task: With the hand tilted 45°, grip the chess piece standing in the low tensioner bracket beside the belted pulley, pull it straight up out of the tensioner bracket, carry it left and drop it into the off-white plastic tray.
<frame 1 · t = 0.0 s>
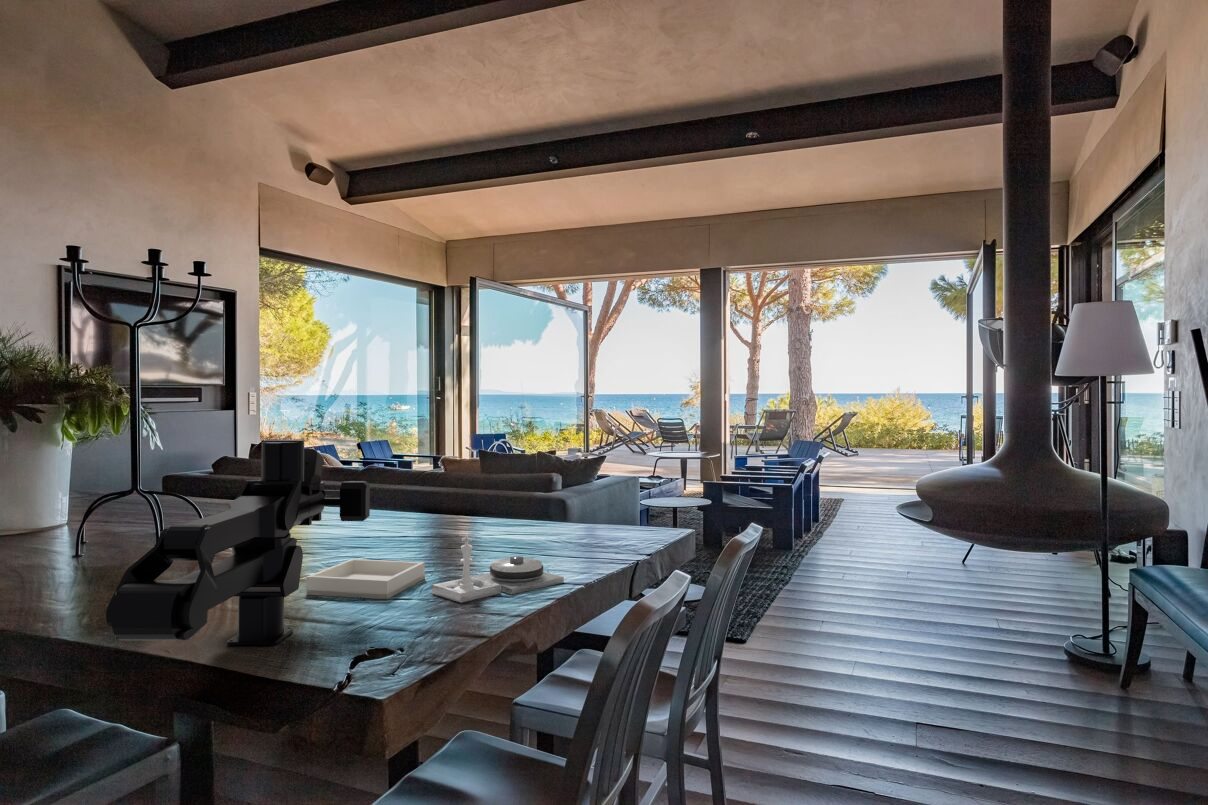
hand: (327, 494, 126), 17 cm above the table, tool horizontal, fingers open, 9 cm apart
tray: (368, 586, 130), on the table
tensioner bracket: (466, 593, 125), on the table
chess piece: (466, 594, 125), resting in tensioner bracket
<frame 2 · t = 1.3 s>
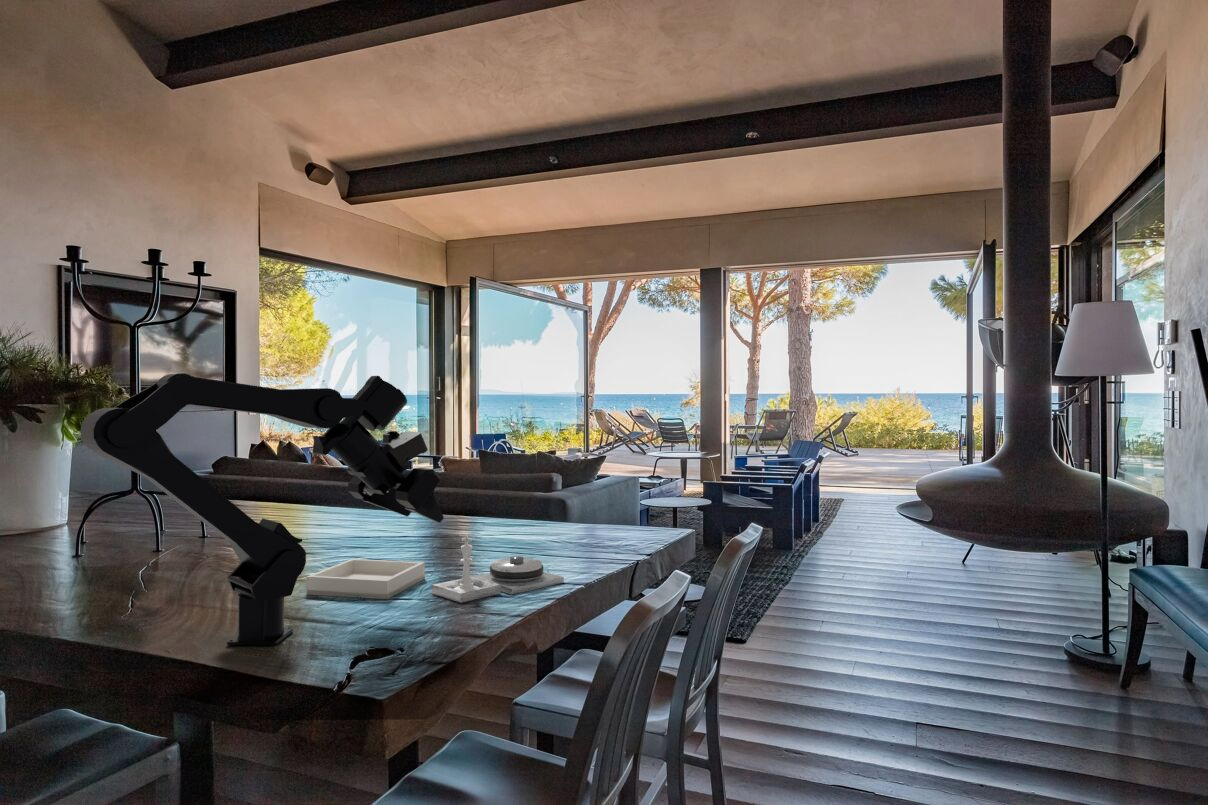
hand: (425, 517, 120), 14 cm above the table, tool tilted 45°, fingers open, 9 cm apart
nothing on the table moved.
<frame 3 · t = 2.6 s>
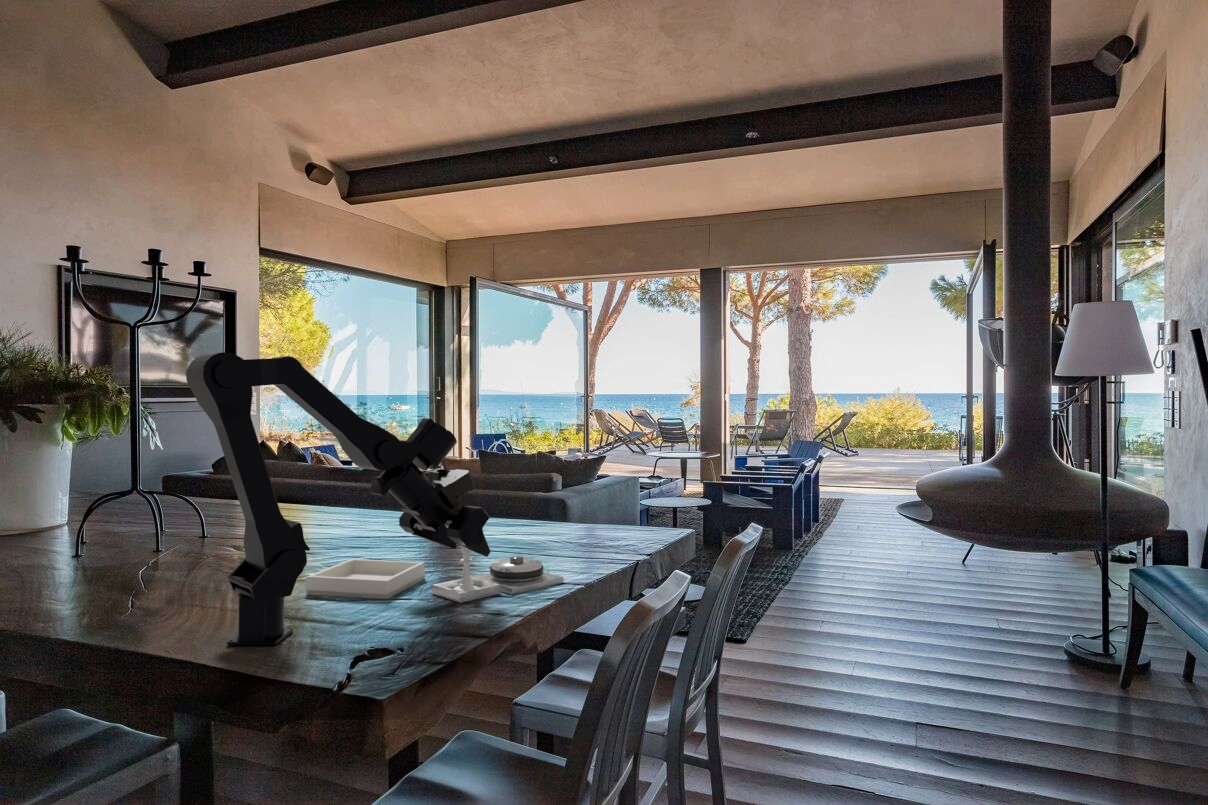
hand: (471, 550, 126), 7 cm above the table, tool tilted 45°, fingers open, 9 cm apart
nothing on the table moved.
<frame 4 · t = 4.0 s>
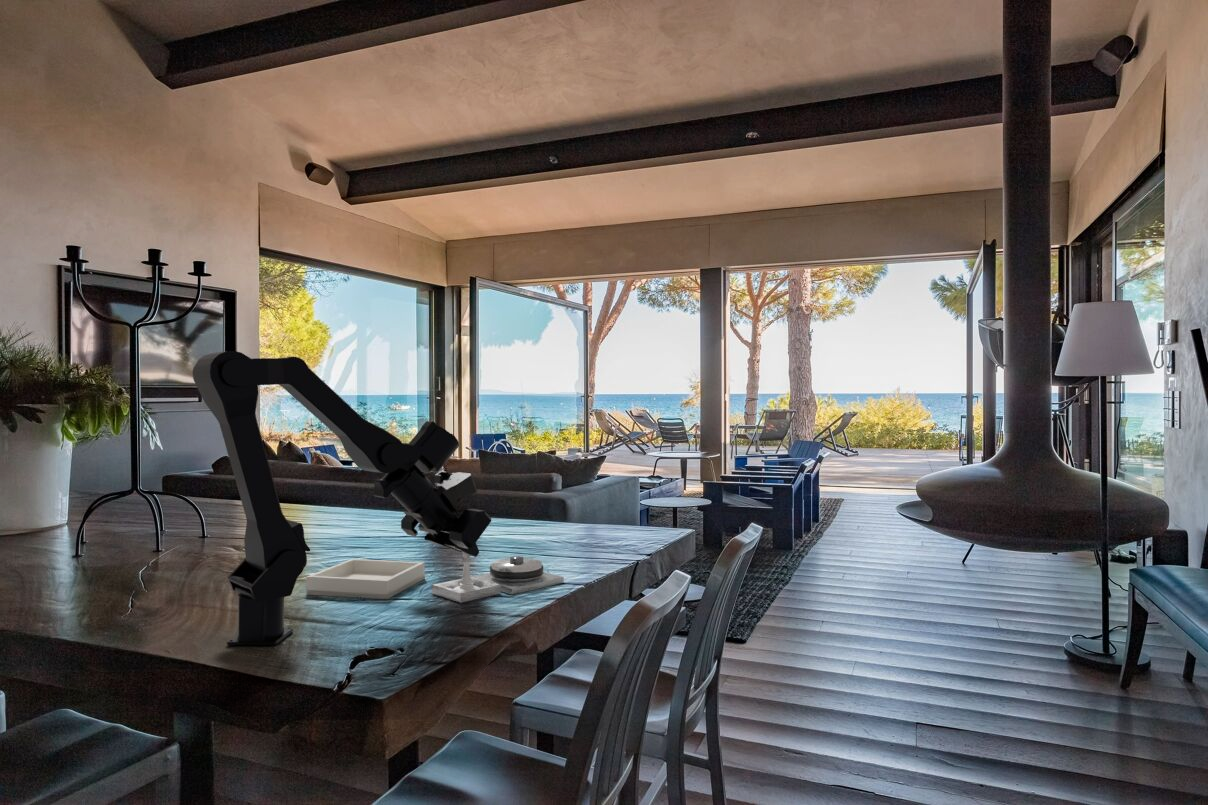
hand: (473, 553, 126), 7 cm above the table, tool tilted 45°, fingers closed on chess piece
chess piece: (466, 594, 125), resting in tensioner bracket, touching gripper
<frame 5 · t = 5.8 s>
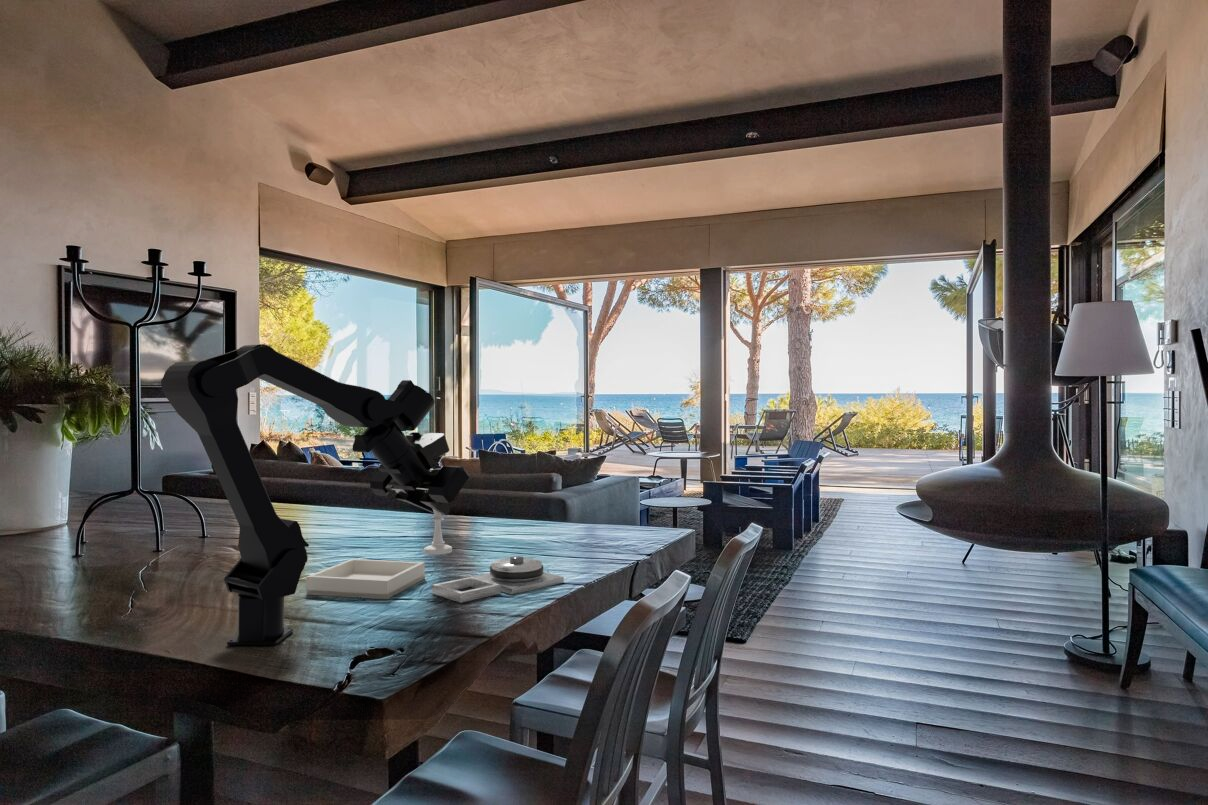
hand: (443, 512, 129), 13 cm above the table, tool tilted 45°, fingers closed on chess piece
chess piece: (438, 553, 127), point 6 cm above the table, touching gripper
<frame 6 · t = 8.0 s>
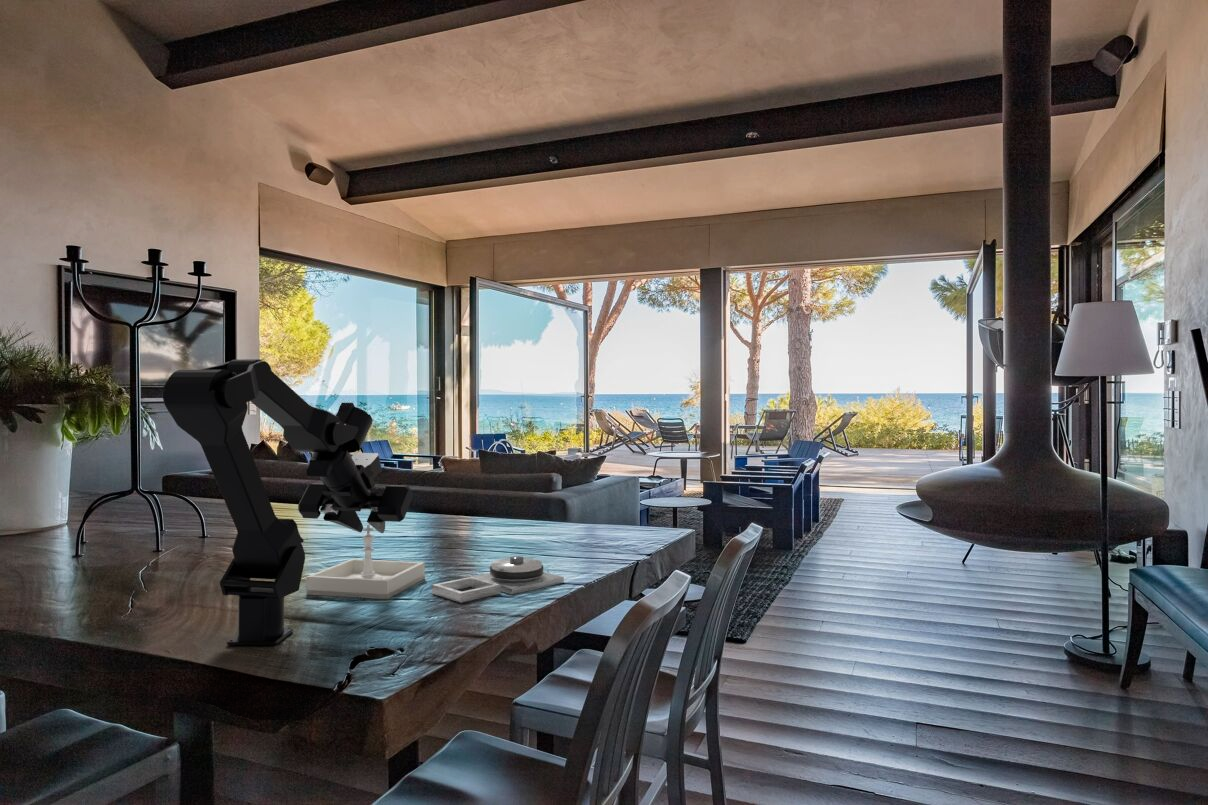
hand: (372, 530, 131), 10 cm above the table, tool tilted 45°, fingers open, 4 cm apart
chess piece: (368, 582, 129), point 1 cm above the table, touching tray
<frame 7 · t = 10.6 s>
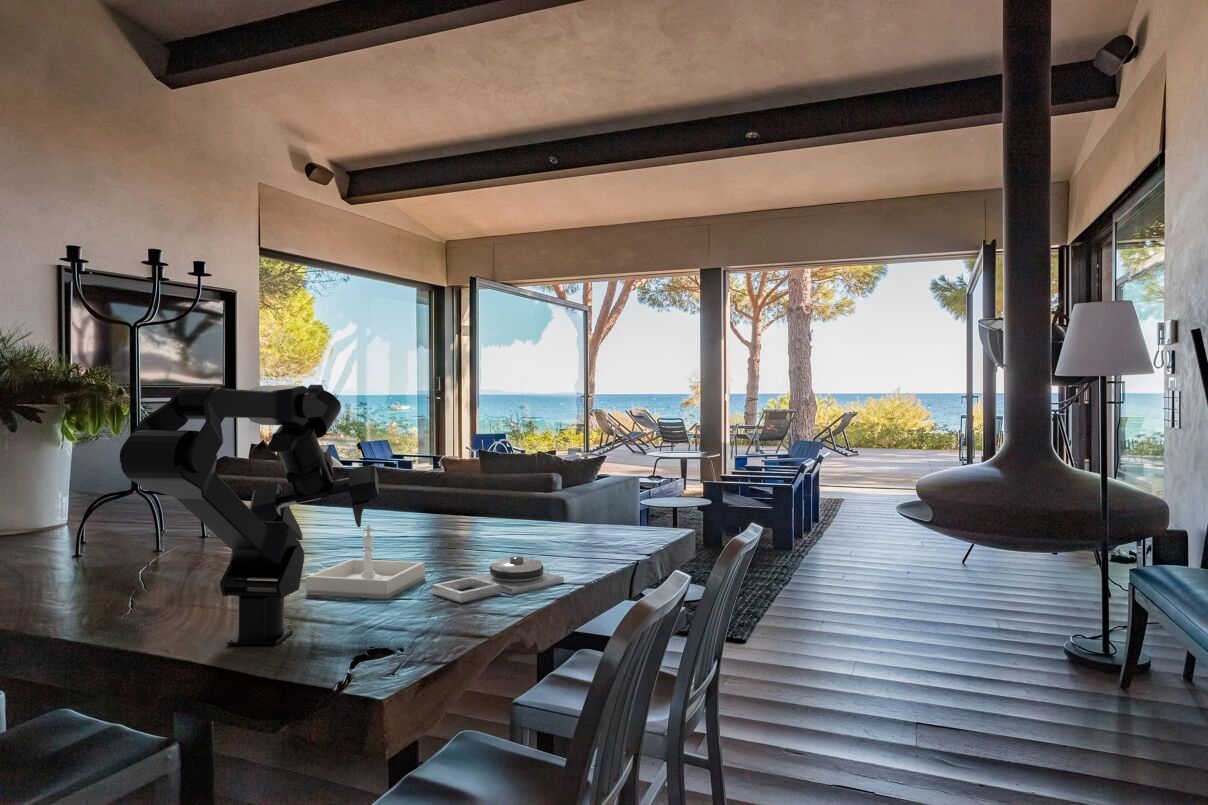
hand: (330, 531, 120), 11 cm above the table, tool tilted 35°, fingers open, 9 cm apart
nothing on the table moved.
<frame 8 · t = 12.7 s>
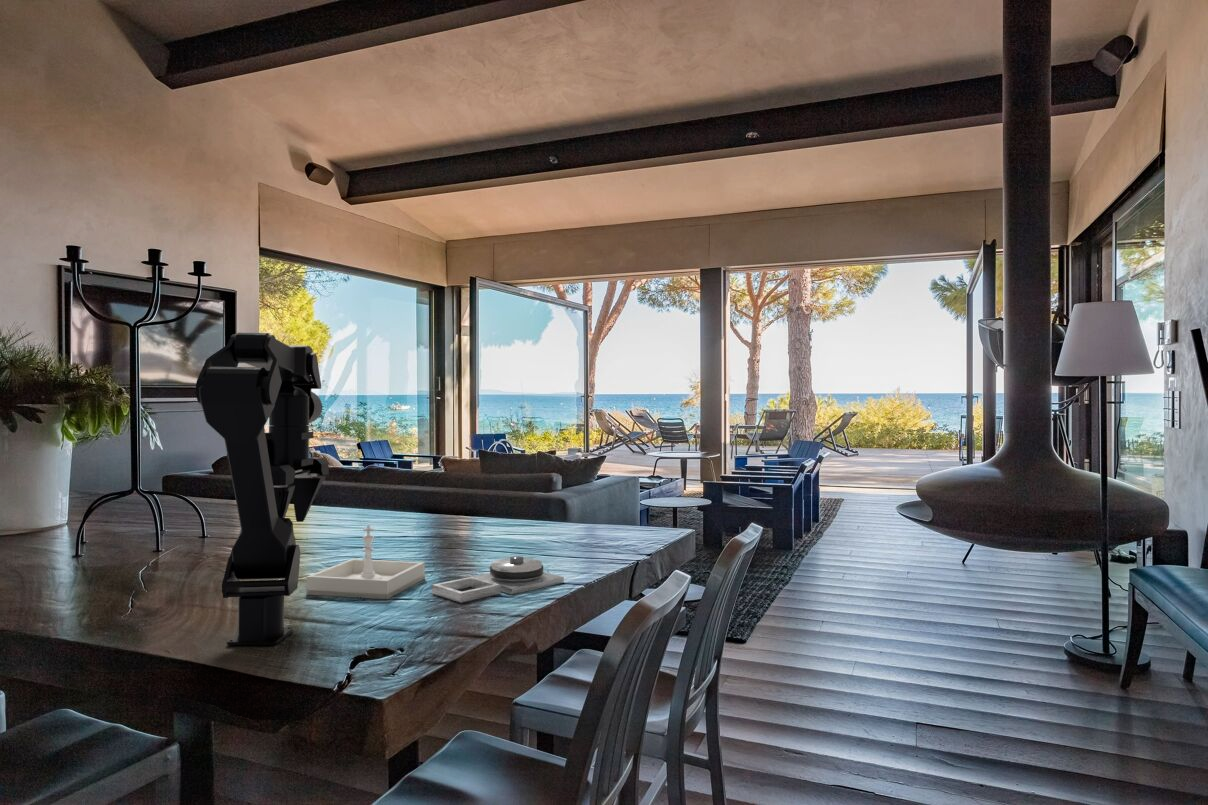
hand: (288, 526, 115), 13 cm above the table, tool pointing down, fingers open, 9 cm apart
nothing on the table moved.
at the end: chess piece inside the target area on the tray (0.2 cm from its centre), point 0.6 cm above the tray's base; chess piece moved 18.6 cm from its start; the gripper is holding nothing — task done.
